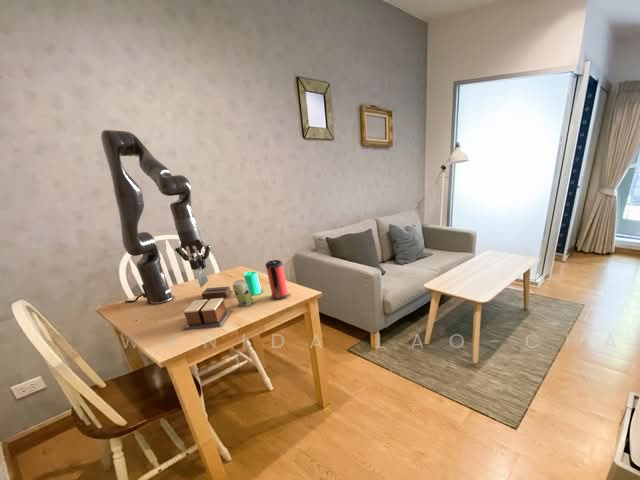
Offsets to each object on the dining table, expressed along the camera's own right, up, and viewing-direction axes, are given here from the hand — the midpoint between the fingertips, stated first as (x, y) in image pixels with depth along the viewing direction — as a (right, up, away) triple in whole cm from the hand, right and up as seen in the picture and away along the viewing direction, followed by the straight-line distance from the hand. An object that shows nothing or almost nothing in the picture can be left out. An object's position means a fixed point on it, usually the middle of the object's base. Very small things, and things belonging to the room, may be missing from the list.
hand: (199, 269), depth 140 cm
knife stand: (-7, -11, +27) cm, 30 cm away
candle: (+11, -10, +29) cm, 32 cm away
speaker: (+26, -12, +24) cm, 37 cm away
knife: (0, -6, +3) cm, 7 cm away
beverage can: (+12, -15, +16) cm, 26 cm away
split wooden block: (+2, -22, +3) cm, 22 cm away
